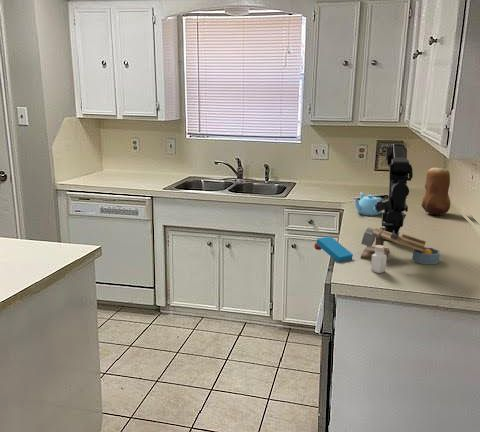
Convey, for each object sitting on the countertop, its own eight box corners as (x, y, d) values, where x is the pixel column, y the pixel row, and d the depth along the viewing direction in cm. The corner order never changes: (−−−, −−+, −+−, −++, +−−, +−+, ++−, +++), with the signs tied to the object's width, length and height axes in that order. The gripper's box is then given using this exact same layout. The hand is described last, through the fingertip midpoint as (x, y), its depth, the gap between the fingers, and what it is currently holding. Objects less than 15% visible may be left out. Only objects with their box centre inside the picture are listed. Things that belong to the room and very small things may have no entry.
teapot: (386, 212, 264) (387, 193, 261) (380, 218, 251) (381, 198, 248) (359, 209, 270) (360, 191, 268) (352, 215, 257) (353, 196, 255)
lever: (349, 269, 191) (321, 246, 205) (353, 254, 188) (325, 231, 202) (335, 272, 188) (308, 248, 202) (339, 257, 185) (312, 234, 198)
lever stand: (366, 248, 202) (367, 225, 200) (389, 250, 198) (390, 227, 196) (360, 258, 190) (361, 234, 187) (384, 261, 186) (385, 236, 184)
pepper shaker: (386, 271, 175) (387, 246, 173) (379, 274, 173) (380, 248, 171) (377, 268, 178) (378, 243, 176) (370, 270, 176) (371, 245, 174)
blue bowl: (413, 254, 193) (414, 245, 192) (439, 257, 189) (440, 248, 188) (411, 262, 184) (411, 253, 183) (438, 265, 180) (439, 256, 179)
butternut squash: (444, 211, 262) (448, 165, 256) (452, 217, 249) (457, 169, 243) (418, 211, 264) (421, 165, 258) (424, 217, 251) (428, 169, 245)
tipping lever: (364, 238, 199) (370, 221, 196) (420, 256, 191) (426, 239, 189) (360, 244, 191) (366, 227, 188) (418, 263, 183) (424, 246, 181)
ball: (434, 253, 186) (426, 259, 188) (427, 245, 187) (419, 251, 189) (434, 256, 183) (425, 262, 185) (427, 248, 183) (418, 254, 185)
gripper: (380, 188, 197) (378, 225, 200) (373, 197, 180) (371, 237, 184) (409, 190, 192) (406, 228, 196) (404, 198, 176) (401, 240, 179)
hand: (396, 233), depth 189 cm, fingers closed, pressing on tipping lever
